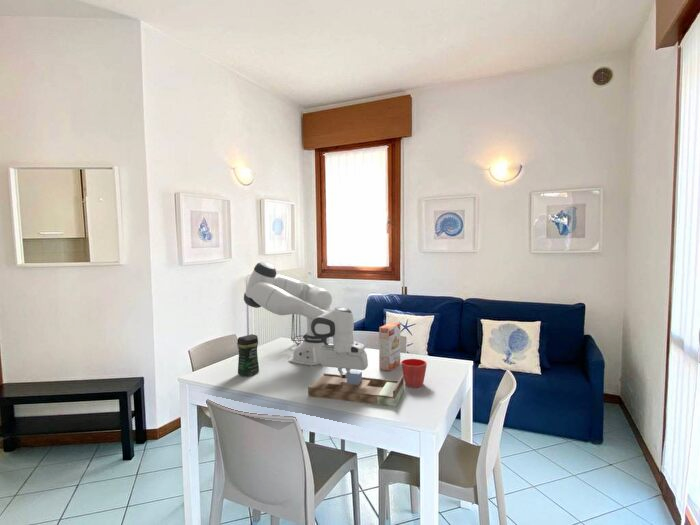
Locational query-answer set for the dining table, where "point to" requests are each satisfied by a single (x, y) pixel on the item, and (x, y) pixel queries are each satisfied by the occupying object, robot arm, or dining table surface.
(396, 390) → the box
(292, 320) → the geometric lantern
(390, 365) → the cracker box
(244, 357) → the coffee jar
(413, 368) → the flower pot
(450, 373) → the dining table surface
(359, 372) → the cube
